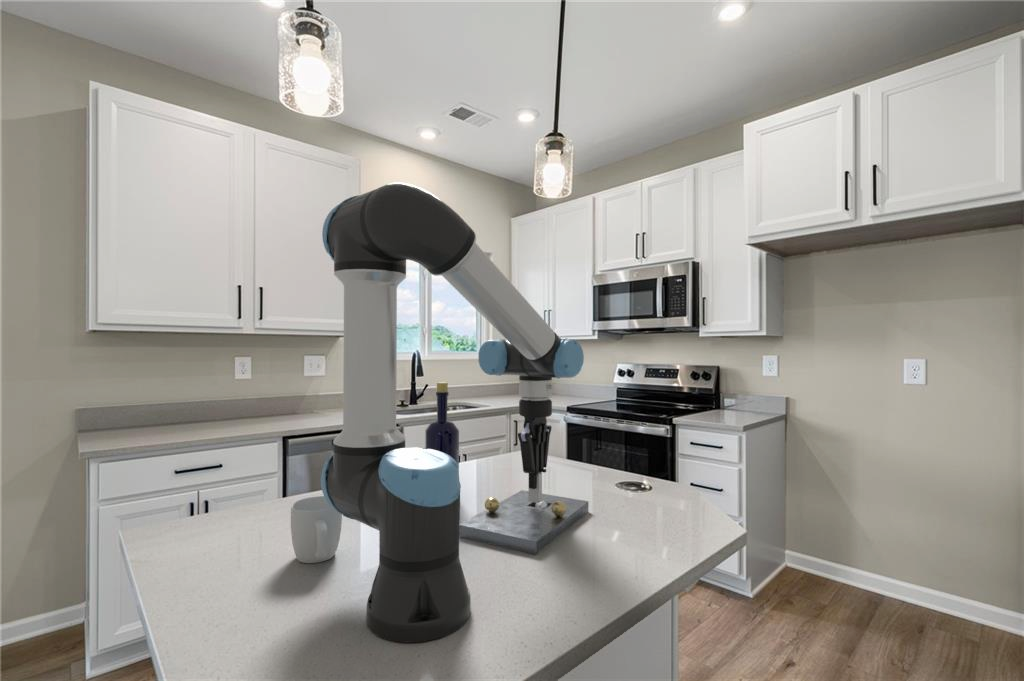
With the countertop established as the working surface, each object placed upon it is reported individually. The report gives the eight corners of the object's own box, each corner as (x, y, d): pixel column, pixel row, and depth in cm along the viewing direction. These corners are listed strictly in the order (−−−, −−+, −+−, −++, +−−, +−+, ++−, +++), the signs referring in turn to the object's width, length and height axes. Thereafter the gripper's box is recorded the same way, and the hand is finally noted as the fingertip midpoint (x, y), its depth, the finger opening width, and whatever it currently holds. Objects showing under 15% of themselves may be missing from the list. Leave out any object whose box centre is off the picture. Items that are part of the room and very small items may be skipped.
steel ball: (551, 501, 118) (549, 516, 117) (539, 500, 119) (537, 514, 118) (545, 501, 115) (543, 516, 114) (533, 499, 117) (531, 514, 116)
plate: (536, 554, 94) (536, 541, 94) (458, 536, 103) (458, 524, 103) (588, 511, 119) (588, 501, 119) (521, 500, 128) (521, 490, 128)
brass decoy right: (562, 519, 106) (562, 504, 106) (549, 517, 108) (549, 502, 108) (568, 515, 109) (568, 500, 109) (555, 512, 111) (555, 498, 111)
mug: (288, 552, 95) (288, 500, 95) (337, 543, 99) (337, 493, 100) (295, 580, 84) (295, 520, 84) (349, 568, 88) (350, 512, 88)
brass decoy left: (494, 515, 109) (494, 500, 109) (482, 513, 110) (482, 498, 110) (501, 511, 112) (501, 496, 112) (489, 508, 113) (489, 494, 113)
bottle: (462, 495, 132) (463, 381, 132) (455, 506, 123) (456, 384, 123) (428, 493, 133) (429, 381, 133) (418, 504, 124) (419, 383, 124)
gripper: (537, 402, 107) (537, 512, 107) (561, 396, 118) (561, 496, 118) (507, 400, 110) (506, 506, 110) (533, 395, 122) (533, 491, 122)
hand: (535, 501), depth 114 cm, fingers closed
